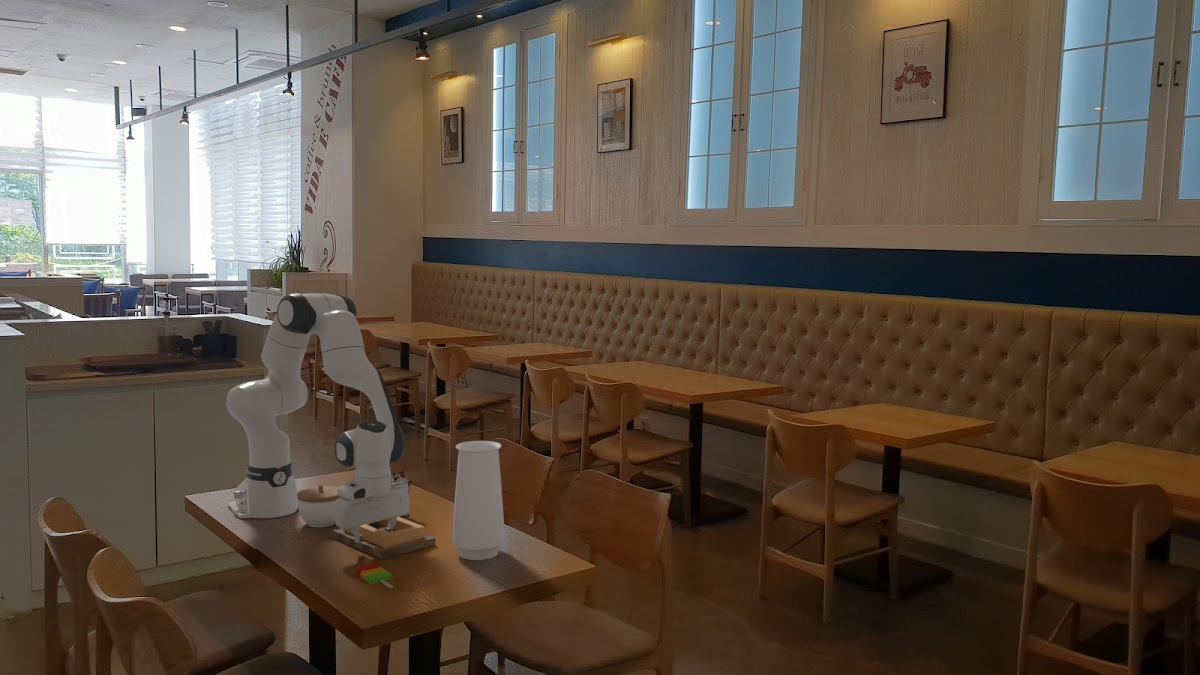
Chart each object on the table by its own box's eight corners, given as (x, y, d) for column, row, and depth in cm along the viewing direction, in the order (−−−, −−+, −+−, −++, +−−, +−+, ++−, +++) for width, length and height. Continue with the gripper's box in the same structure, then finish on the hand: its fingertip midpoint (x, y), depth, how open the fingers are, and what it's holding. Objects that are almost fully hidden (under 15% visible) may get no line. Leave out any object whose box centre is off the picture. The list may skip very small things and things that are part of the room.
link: (343, 530, 245) (342, 519, 245) (382, 520, 254) (382, 510, 254) (384, 548, 231) (384, 536, 231) (424, 537, 240) (424, 526, 240)
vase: (455, 564, 226) (455, 452, 223) (450, 547, 238) (449, 441, 236) (508, 560, 229) (508, 449, 227) (499, 543, 242) (500, 439, 239)
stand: (332, 537, 245) (331, 482, 244) (384, 524, 257) (383, 472, 255) (382, 559, 229) (381, 501, 227) (435, 545, 240) (435, 489, 239)
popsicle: (376, 570, 223) (376, 562, 223) (403, 589, 211) (402, 581, 211) (354, 574, 220) (354, 567, 220) (380, 594, 208) (380, 586, 208)
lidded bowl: (316, 533, 249) (315, 493, 247) (288, 524, 256) (287, 485, 255) (354, 522, 259) (353, 484, 257) (326, 514, 266) (325, 476, 265)
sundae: (409, 519, 262) (409, 467, 260) (386, 519, 262) (385, 467, 261) (415, 512, 269) (414, 462, 267) (392, 512, 269) (391, 462, 267)
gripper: (401, 476, 245) (401, 526, 246) (331, 490, 230) (332, 543, 232) (414, 480, 240) (415, 532, 242) (344, 495, 226) (345, 550, 227)
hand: (373, 538), depth 237 cm, fingers open, 7 cm apart
